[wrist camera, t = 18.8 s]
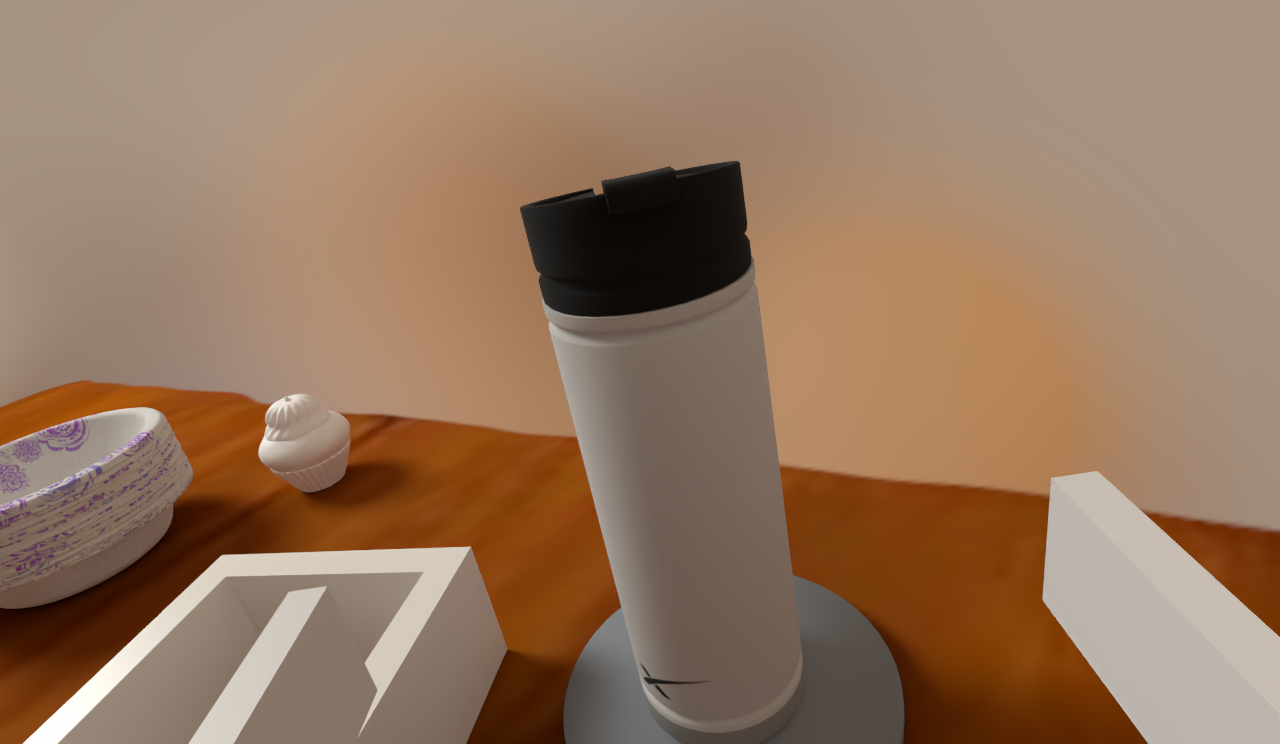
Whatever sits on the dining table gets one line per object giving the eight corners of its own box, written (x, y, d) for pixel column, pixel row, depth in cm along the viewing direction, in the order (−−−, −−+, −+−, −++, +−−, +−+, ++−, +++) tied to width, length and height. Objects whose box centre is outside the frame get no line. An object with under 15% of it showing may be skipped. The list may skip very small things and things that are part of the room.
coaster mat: (938, 897, 20) (938, 876, 20) (524, 861, 23) (517, 843, 23) (880, 581, 32) (879, 564, 31) (608, 586, 35) (604, 570, 34)
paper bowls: (132, 485, 56) (82, 399, 53) (258, 500, 50) (210, 404, 46) (-102, 625, 44) (-186, 524, 40) (27, 669, 37) (-61, 554, 34)
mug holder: (357, 993, 21) (277, 873, 18) (28, 946, 24) (-78, 839, 21) (507, 648, 32) (470, 546, 30) (272, 647, 35) (221, 554, 33)
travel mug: (659, 784, 24) (504, 207, 16) (636, 640, 30) (516, 170, 22) (834, 740, 24) (773, 149, 16) (776, 606, 30) (710, 129, 22)
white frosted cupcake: (264, 493, 50) (222, 410, 48) (338, 451, 55) (304, 372, 52) (305, 514, 47) (263, 425, 44) (382, 466, 51) (348, 382, 48)
